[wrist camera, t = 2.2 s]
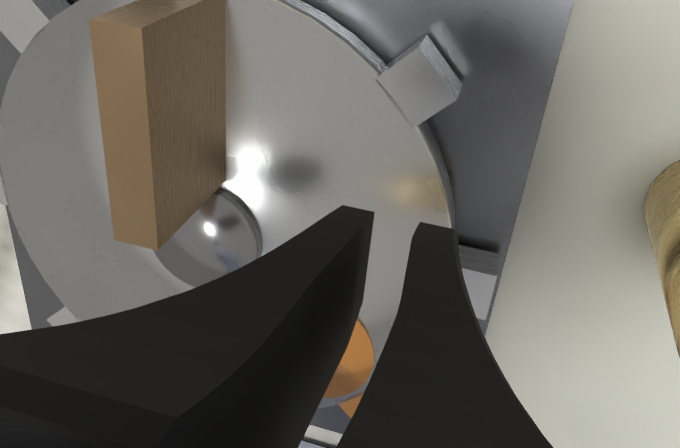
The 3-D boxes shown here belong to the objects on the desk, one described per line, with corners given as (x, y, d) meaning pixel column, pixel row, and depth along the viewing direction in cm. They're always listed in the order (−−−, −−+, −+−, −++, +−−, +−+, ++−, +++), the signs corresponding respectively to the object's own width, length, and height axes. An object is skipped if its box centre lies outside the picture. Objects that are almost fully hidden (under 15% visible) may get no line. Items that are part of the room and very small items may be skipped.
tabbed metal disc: (445, 465, 24) (421, 600, 20) (34, 348, 28) (-62, 442, 23) (574, -31, 15) (581, 20, 11) (-66, -118, 18) (-255, -105, 14)
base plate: (454, 444, 25) (450, 464, 25) (50, 331, 29) (35, 346, 28) (582, -47, 16) (584, -41, 15) (-39, -129, 19) (-65, -127, 19)
